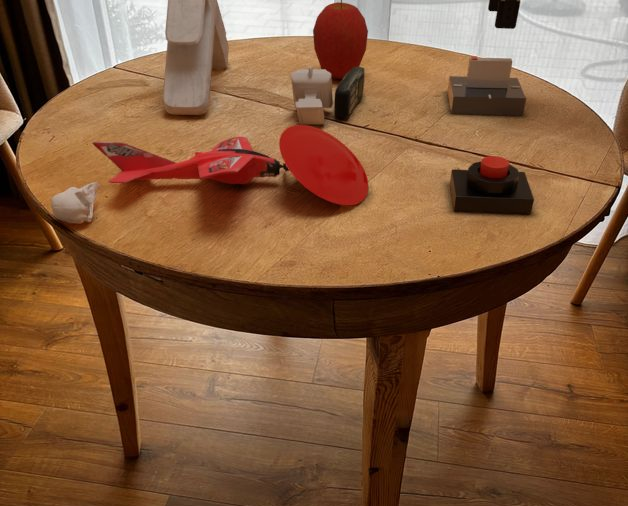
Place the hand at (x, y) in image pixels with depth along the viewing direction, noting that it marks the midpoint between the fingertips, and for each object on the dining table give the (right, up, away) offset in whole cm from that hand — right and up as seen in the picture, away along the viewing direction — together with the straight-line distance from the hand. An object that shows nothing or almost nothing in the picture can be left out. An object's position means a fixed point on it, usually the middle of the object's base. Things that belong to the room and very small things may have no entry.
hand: (501, 19), depth 109 cm
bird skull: (-60, -35, -21) cm, 73 cm away
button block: (-7, -33, -18) cm, 38 cm away
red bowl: (-29, -28, -19) cm, 45 cm away
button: (-7, -30, -20) cm, 37 cm away
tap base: (-1, -11, +9) cm, 14 cm away
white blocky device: (-30, -8, +3) cm, 32 cm away
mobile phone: (-24, -11, +8) cm, 28 cm away
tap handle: (-1, -8, +7) cm, 11 cm away
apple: (-25, -2, +20) cm, 32 cm away
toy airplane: (-47, -31, -16) cm, 58 cm away
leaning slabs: (-51, -6, +15) cm, 54 cm away
